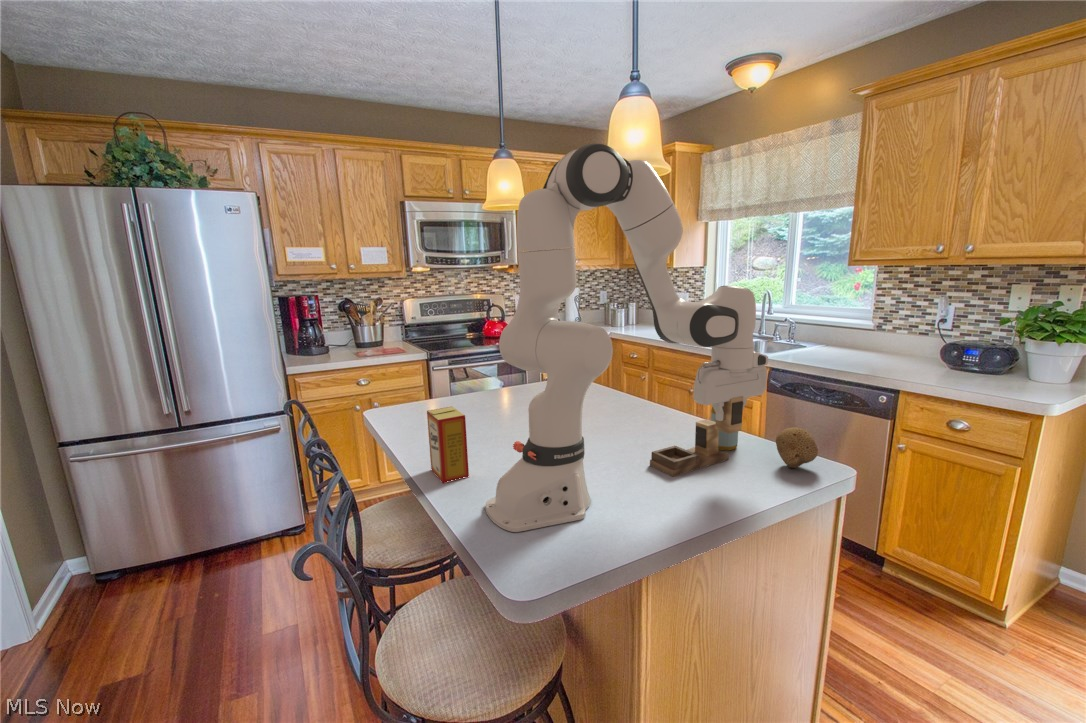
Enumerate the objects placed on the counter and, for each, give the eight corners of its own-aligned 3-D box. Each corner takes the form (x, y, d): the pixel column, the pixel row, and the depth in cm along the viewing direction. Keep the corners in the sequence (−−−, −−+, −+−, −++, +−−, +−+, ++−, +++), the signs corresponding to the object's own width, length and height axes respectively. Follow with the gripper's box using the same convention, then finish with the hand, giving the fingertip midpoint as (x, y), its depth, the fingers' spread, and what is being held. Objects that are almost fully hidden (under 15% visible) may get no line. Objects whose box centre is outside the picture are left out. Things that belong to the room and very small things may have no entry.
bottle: (739, 451, 129) (742, 397, 126) (711, 450, 131) (713, 396, 128) (734, 442, 136) (737, 390, 133) (708, 441, 137) (710, 390, 135)
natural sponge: (811, 461, 121) (814, 423, 119) (820, 476, 113) (824, 435, 111) (771, 458, 124) (774, 421, 122) (777, 472, 115) (780, 432, 114)
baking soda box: (468, 477, 118) (465, 413, 115) (442, 483, 115) (438, 418, 112) (455, 464, 126) (452, 405, 124) (431, 469, 123) (426, 409, 120)
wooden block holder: (672, 476, 115) (673, 438, 113) (649, 465, 122) (650, 429, 120) (728, 459, 124) (729, 424, 122) (703, 450, 131) (704, 416, 129)
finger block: (715, 428, 112) (716, 395, 111) (727, 426, 114) (728, 393, 113) (730, 434, 109) (732, 399, 107) (742, 431, 111) (744, 396, 109)
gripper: (710, 365, 101) (707, 429, 104) (773, 356, 111) (769, 415, 113) (687, 361, 107) (685, 421, 109) (749, 353, 116) (746, 409, 119)
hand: (728, 418), depth 111 cm, fingers closed on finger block, 4 cm apart
